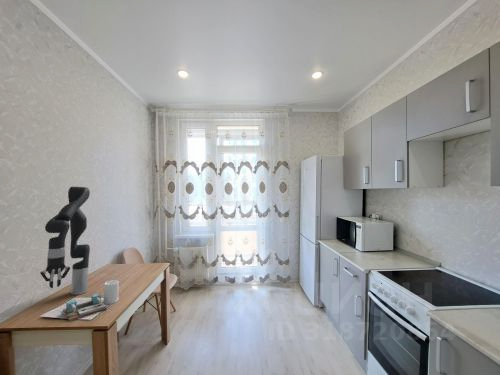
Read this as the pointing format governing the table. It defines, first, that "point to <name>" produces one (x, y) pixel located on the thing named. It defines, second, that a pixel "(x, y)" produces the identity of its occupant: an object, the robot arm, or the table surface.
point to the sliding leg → (71, 306)
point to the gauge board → (84, 310)
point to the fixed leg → (96, 299)
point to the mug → (111, 292)
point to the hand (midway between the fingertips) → (54, 286)
